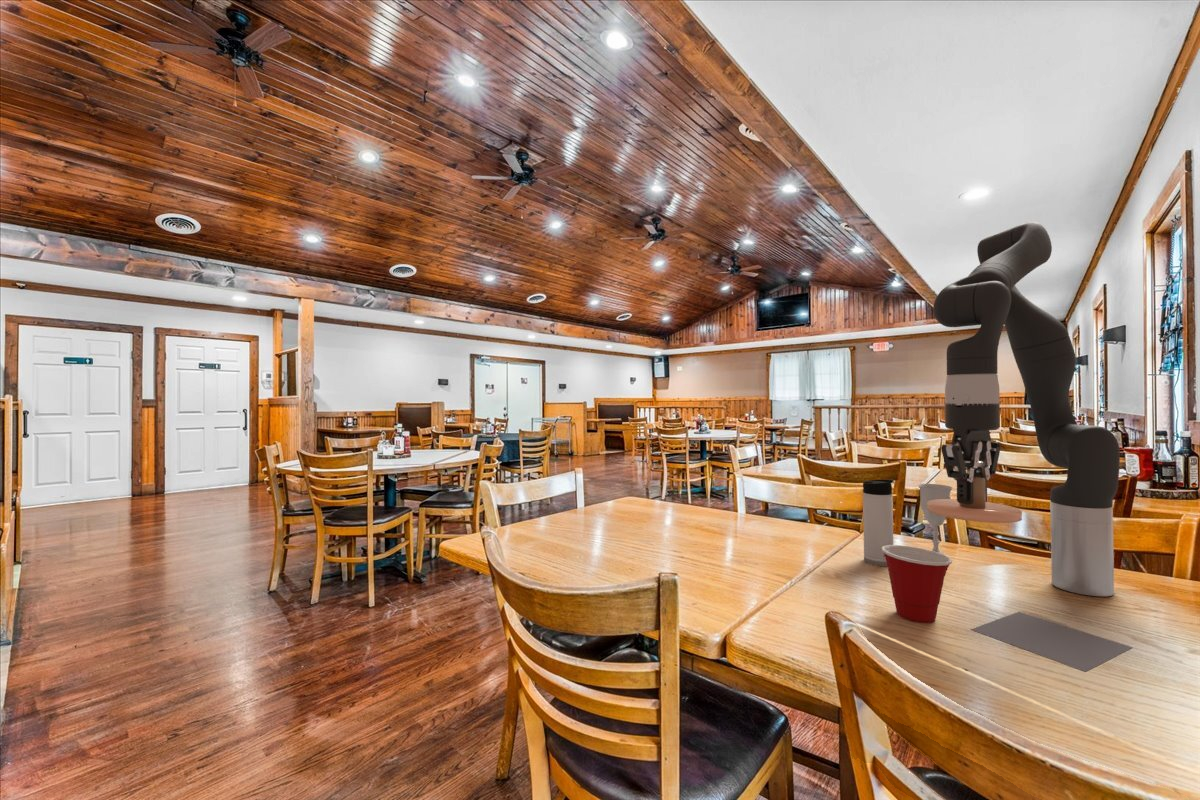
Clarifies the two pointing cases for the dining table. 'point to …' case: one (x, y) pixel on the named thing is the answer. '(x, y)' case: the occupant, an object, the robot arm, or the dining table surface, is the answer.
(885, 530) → the travel mug
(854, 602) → the dining table surface
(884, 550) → the plastic cup
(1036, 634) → the mat
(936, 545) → the chalice
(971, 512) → the lid
